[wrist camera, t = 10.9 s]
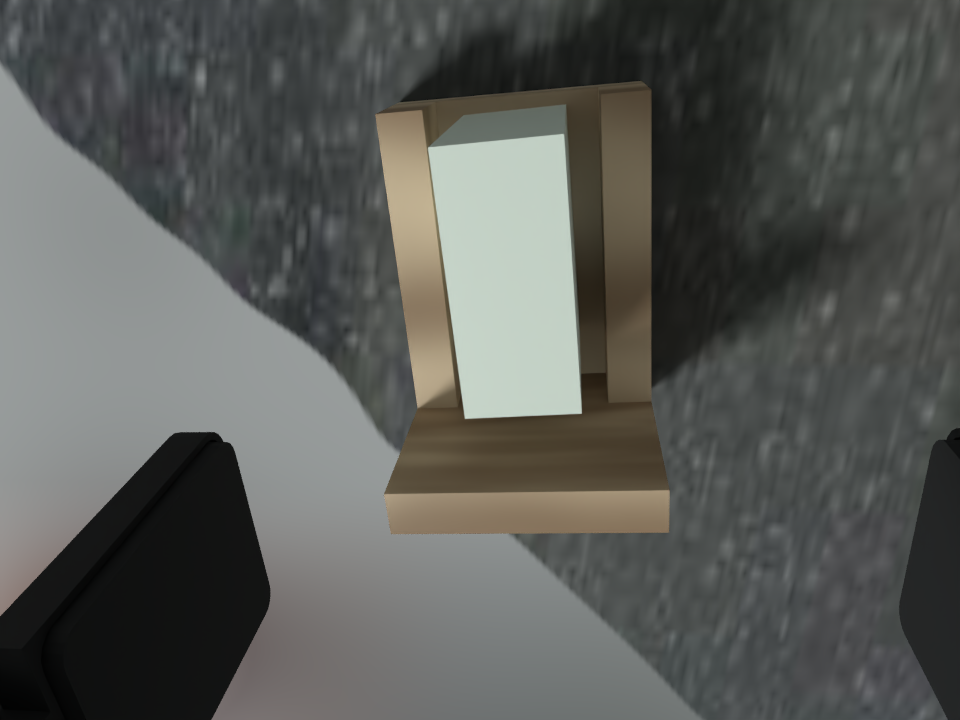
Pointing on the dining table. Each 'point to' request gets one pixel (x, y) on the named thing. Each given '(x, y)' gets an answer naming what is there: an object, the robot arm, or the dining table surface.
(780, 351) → the dining table surface
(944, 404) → the dining table surface
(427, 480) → the track block
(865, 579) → the dining table surface
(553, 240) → the pale green tall block
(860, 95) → the dining table surface
